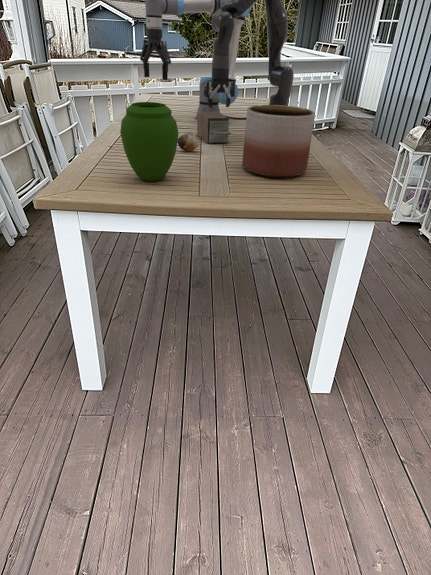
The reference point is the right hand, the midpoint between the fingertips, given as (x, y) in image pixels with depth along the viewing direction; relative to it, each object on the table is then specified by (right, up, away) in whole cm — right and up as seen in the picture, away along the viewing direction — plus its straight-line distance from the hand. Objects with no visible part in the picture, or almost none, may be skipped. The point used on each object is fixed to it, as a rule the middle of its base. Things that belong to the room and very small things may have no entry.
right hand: (218, 107), depth 186 cm
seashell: (-14, -22, -5) cm, 26 cm away
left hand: (-32, +23, +19) cm, 43 cm away
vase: (-25, -43, -40) cm, 63 cm away
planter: (+22, -35, -24) cm, 48 cm away
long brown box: (-3, -8, +18) cm, 20 cm away
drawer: (-2, -10, +14) cm, 17 cm away
